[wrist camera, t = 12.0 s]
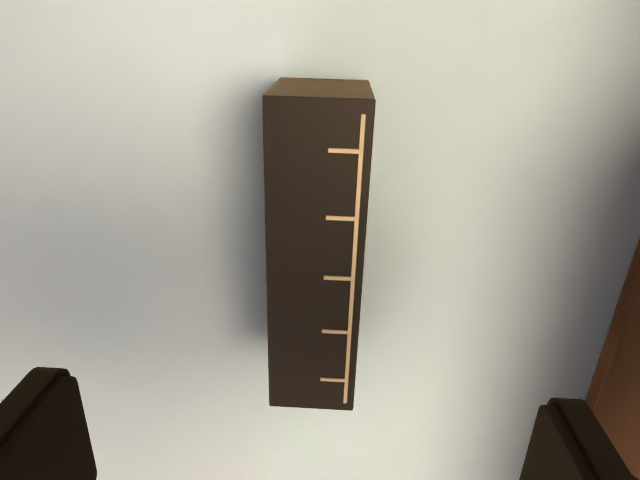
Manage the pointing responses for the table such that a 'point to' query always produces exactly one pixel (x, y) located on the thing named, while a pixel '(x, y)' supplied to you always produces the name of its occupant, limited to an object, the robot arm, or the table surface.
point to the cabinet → (621, 375)
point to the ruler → (315, 236)
